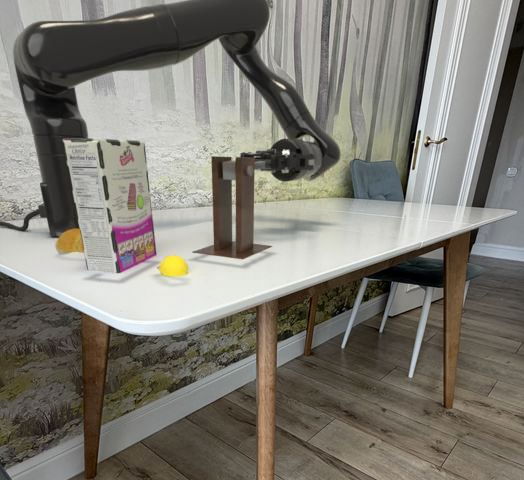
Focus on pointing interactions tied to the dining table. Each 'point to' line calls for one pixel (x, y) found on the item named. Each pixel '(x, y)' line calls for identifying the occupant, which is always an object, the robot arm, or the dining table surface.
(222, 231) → the bracket
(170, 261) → the yellow lemon
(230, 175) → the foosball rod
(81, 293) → the dining table surface
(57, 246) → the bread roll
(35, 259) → the dining table surface
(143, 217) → the candy bar box
